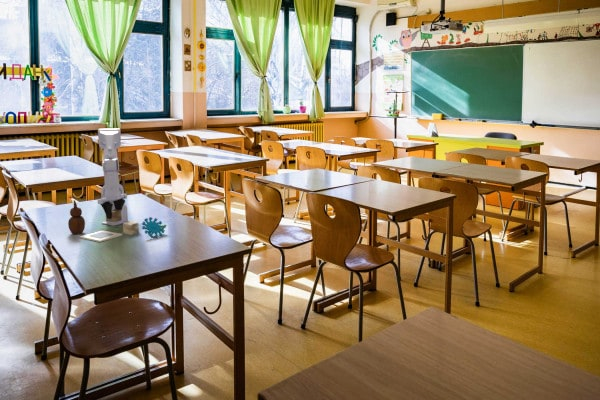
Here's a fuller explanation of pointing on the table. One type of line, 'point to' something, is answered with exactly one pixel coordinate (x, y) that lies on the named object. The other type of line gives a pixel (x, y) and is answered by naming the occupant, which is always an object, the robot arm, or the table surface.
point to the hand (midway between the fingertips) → (113, 217)
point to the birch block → (130, 228)
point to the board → (101, 236)
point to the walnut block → (115, 216)
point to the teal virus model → (153, 227)
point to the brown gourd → (76, 220)
